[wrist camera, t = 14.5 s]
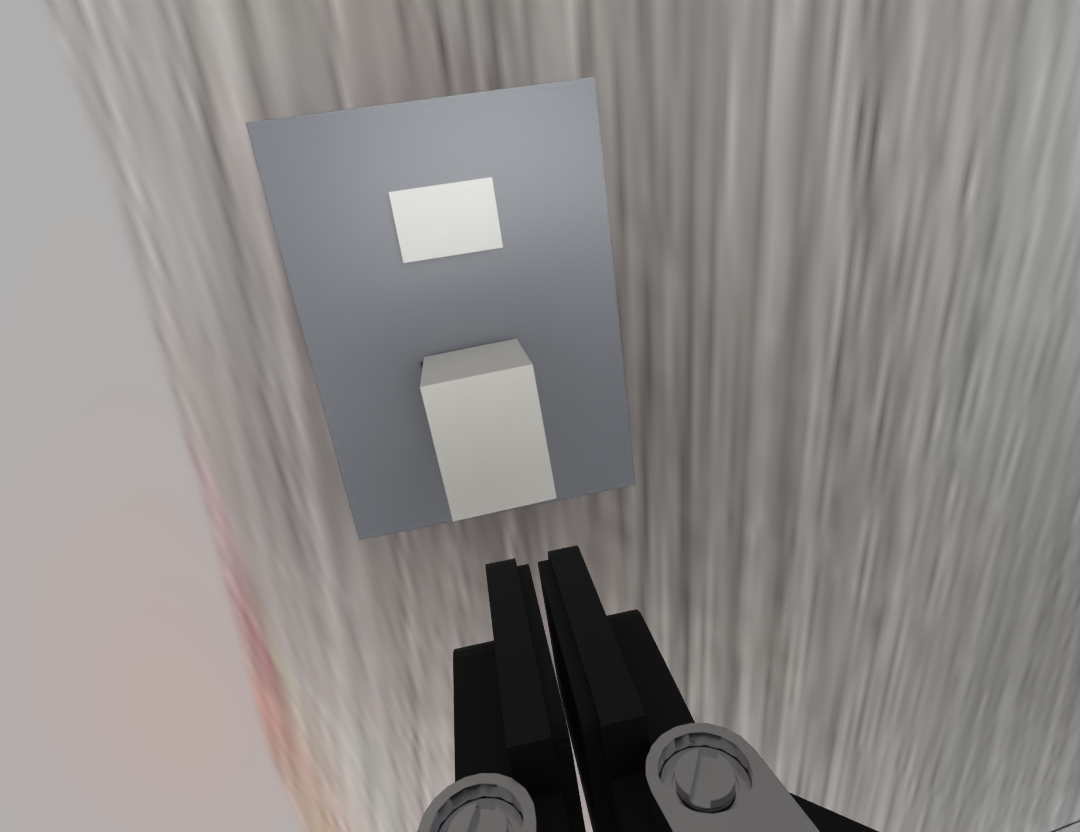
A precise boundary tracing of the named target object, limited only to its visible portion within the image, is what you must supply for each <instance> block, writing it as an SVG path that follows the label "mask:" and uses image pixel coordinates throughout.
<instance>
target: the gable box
mask: <svg viewBox="0 0 1080 832" xmlns="http://www.w3.org/2000/svg"><path fill="white" fill-rule="evenodd" d="M1054 832H1080V821H1079V822H1076V823H1074V824H1071V825H1069V826H1067V827H1064V828H1062V829H1059V830H1057V831H1054Z"/></svg>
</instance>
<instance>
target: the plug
mask: <svg viewBox="0 0 1080 832" xmlns="http://www.w3.org/2000/svg"><path fill="white" fill-rule="evenodd" d="M420 390H421V394H422V398H423V402H424V406H425V410H426V414H427V418H428V422H429V426H430V430H431V434H432V438H433V443H434V447H435V451H436V455H437V459H438V463H439V467H440V471H441V475H442V479H443V483H444V487H445V491H446V495H447V499H448V504H449V508H450V512H451V516H452V520H453V522H454V521H458V520H463V519H467V518H471V517H476V516H480V515H485V514H489V513H494V512H498V511H502V510H507V509H511V508H516V507H520V506H525V505H529V504H534V503H538V502H542V501H547V500H551V499H556V498H557V497H556V492H555V486H554V481H553V475H552V469H551V464H550V458H549V453H548V447H547V442H546V436H545V430H544V425H543V419H542V414H541V408H540V403H539V397H538V392H537V386H536V380H535V375H534V369H533V364H532V362H531V361H530V359H529V357H528V356H527V354H526V353H525V351H524V349H523V348H522V346H521V344H520V343H519V341H518V340H517V338H516V339H511V340H506V341H501V342H496V343H491V344H486V345H481V346H476V347H471V348H466V349H461V350H456V351H451V352H446V353H441V354H436V355H431V356H426V357H424V361H423V368H422V375H421V383H420Z"/></svg>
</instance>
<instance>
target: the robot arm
mask: <svg viewBox="0 0 1080 832" xmlns="http://www.w3.org/2000/svg"><path fill="white" fill-rule="evenodd" d="M548 559H549V560H545V561H540V562H538V567H539V573H540V579H541V585H542V591H543V597H544V603H545V609H546V614H547V620H548V626H549V632H550V638H551V644H552V650H553V656H554V662H555V668H556V674H557V679H558V685H559V689H558V685H557V680H556V676H555V672H554V668H553V664H552V660H551V655H550V651H549V647H548V643H547V639H546V635H545V630H544V626H543V622H542V618H541V614H540V610H539V605H538V601H537V597H536V593H535V589H534V584H533V580H532V576H531V572H530V568H529V564H526V565H521V566H517V565H516V560H515V558H514V559H510V560H505V561H500V562H495V563H490V564H486V575H487V583H488V592H489V601H490V610H491V618H492V627H493V636H494V641H490V642H486V643H481V644H476V645H472V646H467V647H463V648H458V649H454V652H453V678H454V738H455V783H453V784H451V785H449V786H448V787H447V788H446V789H444V790H443V791H442V792H441V793H440V794H439V795H438V796H437V797H435V798H434V800H433V801H432V803H431V804H430V805H429V807H428V808H427V810H426V811H425V813H424V814H423V817H422V820H421V822H420V825H419V828H418V831H417V832H586V831H585V825H584V819H583V813H582V807H581V801H580V795H579V789H578V783H577V777H576V771H575V765H574V759H573V753H572V748H571V742H572V746H573V750H574V754H575V758H576V762H577V767H578V771H579V775H580V779H581V783H582V787H583V792H584V796H585V800H586V804H587V808H588V812H589V817H590V821H591V825H592V829H593V832H878V831H876V830H874V829H871V828H869V827H867V826H864V825H862V824H860V823H858V822H855V821H853V820H851V819H848V818H846V817H844V816H842V815H839V814H837V813H835V812H832V811H830V810H828V809H826V808H823V807H821V806H819V805H817V804H814V803H812V802H810V801H807V800H805V799H803V798H801V797H798V796H796V795H794V794H791V793H789V792H788V791H787V790H786V788H785V787H784V786H783V784H782V783H781V782H780V781H779V779H778V778H777V777H776V776H775V774H774V773H773V772H772V771H771V769H770V768H769V767H768V765H767V764H766V763H765V762H764V760H763V759H762V758H761V757H760V755H759V754H758V753H757V752H756V750H755V749H754V748H753V747H752V746H751V745H750V744H749V743H748V742H747V741H746V740H744V739H743V738H742V737H741V736H739V735H737V734H736V733H734V732H732V731H730V730H728V729H727V728H723V727H720V726H716V725H713V724H709V723H695V722H694V720H693V718H692V716H691V714H690V712H689V710H688V708H687V706H686V704H685V702H684V700H683V698H682V696H681V694H680V692H679V689H678V687H677V685H676V683H675V681H674V679H673V677H672V675H671V673H670V671H669V669H668V667H667V665H666V663H665V661H664V659H663V657H662V655H661V653H660V651H659V649H658V647H657V645H656V643H655V641H654V639H653V637H652V635H651V633H650V631H649V629H648V627H647V625H646V623H645V621H644V619H643V617H642V615H641V613H640V612H639V611H638V610H637V609H636V610H631V611H627V612H622V613H618V614H613V615H609V616H606V614H605V611H604V609H603V606H602V604H601V602H600V599H599V597H598V594H597V592H596V589H595V587H594V584H593V582H592V579H591V577H590V574H589V572H588V569H587V567H586V564H585V562H584V559H583V557H582V554H581V552H580V550H579V547H578V546H572V547H567V548H563V549H558V550H553V551H548ZM559 690H560V693H559ZM560 695H561V697H560ZM561 700H562V701H561ZM562 704H563V706H562ZM563 708H564V710H563ZM564 713H565V714H564ZM565 717H566V718H565ZM566 721H567V723H566ZM567 725H568V727H567ZM568 729H569V732H568ZM569 733H570V737H571V742H570V737H569Z"/></svg>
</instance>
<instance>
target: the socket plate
mask: <svg viewBox="0 0 1080 832" xmlns="http://www.w3.org/2000/svg"><path fill="white" fill-rule="evenodd" d="M246 126H247V130H248V133H249V137H250V141H251V144H252V148H253V152H254V155H255V159H256V163H257V166H258V170H259V174H260V177H261V181H262V185H263V188H264V192H265V196H266V199H267V203H268V207H269V210H270V214H271V218H272V221H273V225H274V229H275V232H276V236H277V240H278V243H279V247H280V251H281V255H282V258H283V262H284V266H285V269H286V273H287V277H288V280H289V284H290V288H291V291H292V295H293V299H294V302H295V306H296V310H297V313H298V317H299V321H300V324H301V328H302V332H303V335H304V339H305V343H306V346H307V350H308V354H309V357H310V361H311V365H312V368H313V372H314V376H315V379H316V383H317V387H318V390H319V394H320V398H321V401H322V405H323V409H324V412H325V416H326V420H327V423H328V427H329V431H330V434H331V438H332V442H333V445H334V449H335V453H336V456H337V460H338V464H339V467H340V471H341V475H342V478H343V482H344V486H345V489H346V493H347V497H348V500H349V504H350V508H351V511H352V515H353V519H354V522H355V526H356V530H357V533H358V537H359V540H361V539H366V538H371V537H376V536H381V535H386V534H391V533H396V532H401V531H406V530H411V529H416V528H421V527H426V526H431V525H436V524H441V523H446V522H451V521H453V520H452V516H451V512H450V508H449V504H448V499H447V495H446V491H445V487H444V483H443V479H442V475H441V471H440V467H439V463H438V459H437V455H436V451H435V447H434V443H433V438H432V434H431V430H430V426H429V422H428V418H427V414H426V410H425V406H424V402H423V398H422V394H421V390H420V383H421V375H422V368H423V361H424V357H426V356H431V355H436V354H441V353H446V352H451V351H456V350H461V349H466V348H471V347H476V346H481V345H486V344H491V343H496V342H501V341H506V340H511V339H516V338H517V340H518V341H519V343H520V344H521V346H522V348H523V349H524V351H525V353H526V354H527V356H528V357H529V359H530V361H531V362H532V364H533V369H534V375H535V380H536V386H537V392H538V397H539V403H540V408H541V414H542V419H543V425H544V430H545V436H546V442H547V447H548V453H549V458H550V464H551V469H552V475H553V481H554V486H555V492H556V497H557V498H556V499H551V500H547V501H542V502H538V503H534V504H529V505H525V506H520V507H516V508H511V509H507V510H512V509H517V508H522V507H527V506H532V505H537V504H542V503H547V502H552V501H557V500H562V499H567V498H572V497H577V496H582V495H587V494H592V493H597V492H602V491H607V490H612V489H617V488H622V487H627V486H632V485H635V475H634V465H633V455H632V445H631V435H630V425H629V415H628V405H627V395H626V385H625V375H624V365H623V355H622V345H621V335H620V325H619V315H618V305H617V295H616V285H615V275H614V265H613V255H612V245H611V235H610V225H609V215H608V205H607V195H606V185H605V175H604V165H603V155H602V145H601V135H600V125H599V115H598V105H597V95H596V85H595V77H591V78H583V79H576V80H568V81H560V82H553V83H545V84H537V85H530V86H522V87H515V88H507V89H499V90H492V91H484V92H476V93H469V94H461V95H454V96H446V97H438V98H431V99H423V100H416V101H408V102H400V103H393V104H385V105H377V106H370V107H362V108H355V109H347V110H339V111H332V112H324V113H316V114H309V115H301V116H294V117H286V118H278V119H271V120H263V121H256V122H248V123H246ZM507 510H502V511H507ZM502 511H498V512H502ZM494 513H497V512H494ZM489 514H491V513H489ZM485 515H486V514H485ZM480 516H481V515H480Z"/></svg>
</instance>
